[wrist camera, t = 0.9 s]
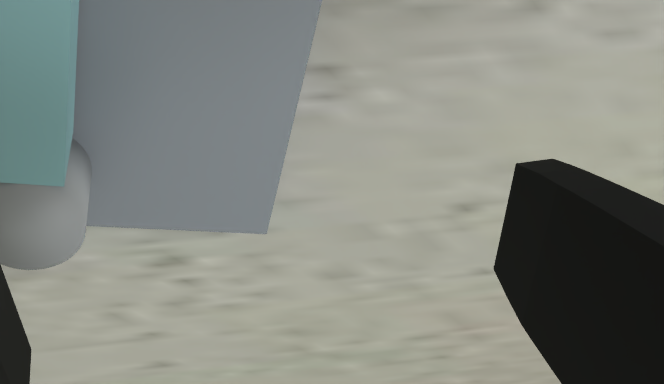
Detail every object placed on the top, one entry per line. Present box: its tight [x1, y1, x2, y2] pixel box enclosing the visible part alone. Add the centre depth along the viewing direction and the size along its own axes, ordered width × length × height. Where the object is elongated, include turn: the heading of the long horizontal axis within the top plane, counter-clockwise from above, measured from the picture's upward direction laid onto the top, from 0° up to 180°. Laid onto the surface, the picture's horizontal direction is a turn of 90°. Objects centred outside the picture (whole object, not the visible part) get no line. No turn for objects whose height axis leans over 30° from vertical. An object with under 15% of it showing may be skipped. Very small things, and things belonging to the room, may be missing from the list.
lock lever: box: [0, 0, 92, 270], centre depth 14 cm, size 8×2×3 cm, turn 166°
